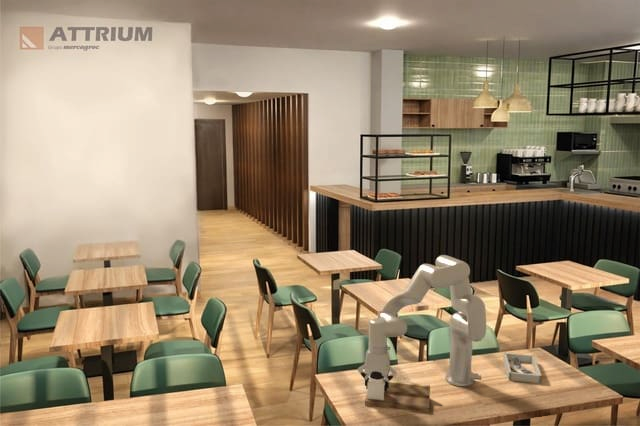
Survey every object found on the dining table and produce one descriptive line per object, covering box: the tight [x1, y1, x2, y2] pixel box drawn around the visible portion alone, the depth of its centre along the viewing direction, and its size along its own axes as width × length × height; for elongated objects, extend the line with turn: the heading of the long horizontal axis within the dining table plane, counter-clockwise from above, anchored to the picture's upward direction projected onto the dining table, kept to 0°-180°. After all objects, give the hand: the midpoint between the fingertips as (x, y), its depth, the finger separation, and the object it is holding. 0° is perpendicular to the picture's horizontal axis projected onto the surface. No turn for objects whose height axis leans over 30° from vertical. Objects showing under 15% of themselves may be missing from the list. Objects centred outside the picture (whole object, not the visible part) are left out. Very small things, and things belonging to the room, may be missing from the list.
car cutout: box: [509, 357, 536, 375], centre depth 262 cm, size 15×7×4 cm, turn 16°
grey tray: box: [502, 352, 543, 384], centre depth 262 cm, size 14×23×4 cm, turn 168°
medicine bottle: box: [366, 372, 386, 400], centre depth 232 cm, size 7×7×12 cm
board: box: [364, 380, 431, 414], centre depth 232 cm, size 26×12×6 cm, turn 78°
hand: (376, 388), depth 232 cm, fingers closed on medicine bottle, 7 cm apart
